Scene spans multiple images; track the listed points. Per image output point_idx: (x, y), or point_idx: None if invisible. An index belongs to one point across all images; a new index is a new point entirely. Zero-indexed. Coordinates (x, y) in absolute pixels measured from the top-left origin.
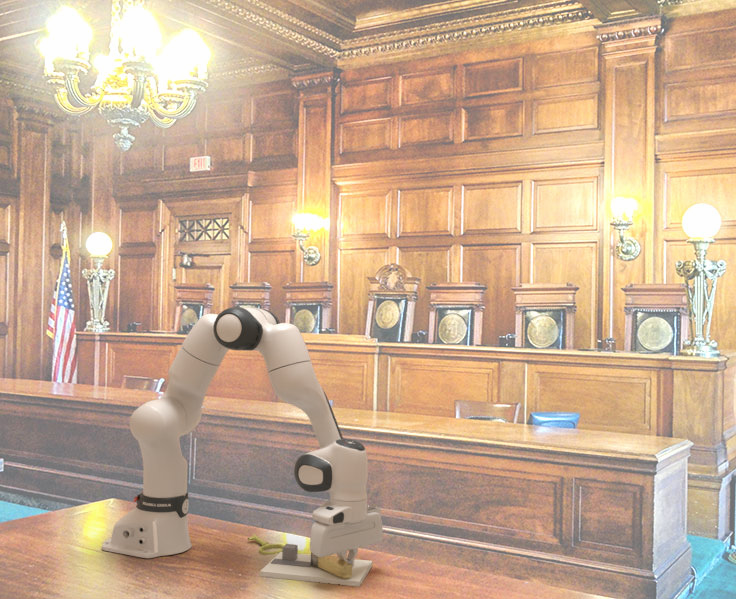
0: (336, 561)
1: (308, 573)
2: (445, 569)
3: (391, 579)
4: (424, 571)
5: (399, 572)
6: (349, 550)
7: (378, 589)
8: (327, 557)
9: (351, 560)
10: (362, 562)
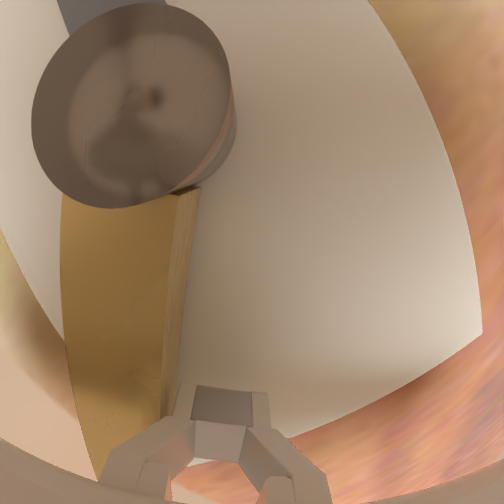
0: (100, 425)
1: (26, 208)
2: (489, 452)
3: (349, 465)
4: (464, 449)
5: (434, 431)
6: (259, 498)
7: (223, 488)
8: (88, 318)
9: (238, 461)
10: (445, 318)
